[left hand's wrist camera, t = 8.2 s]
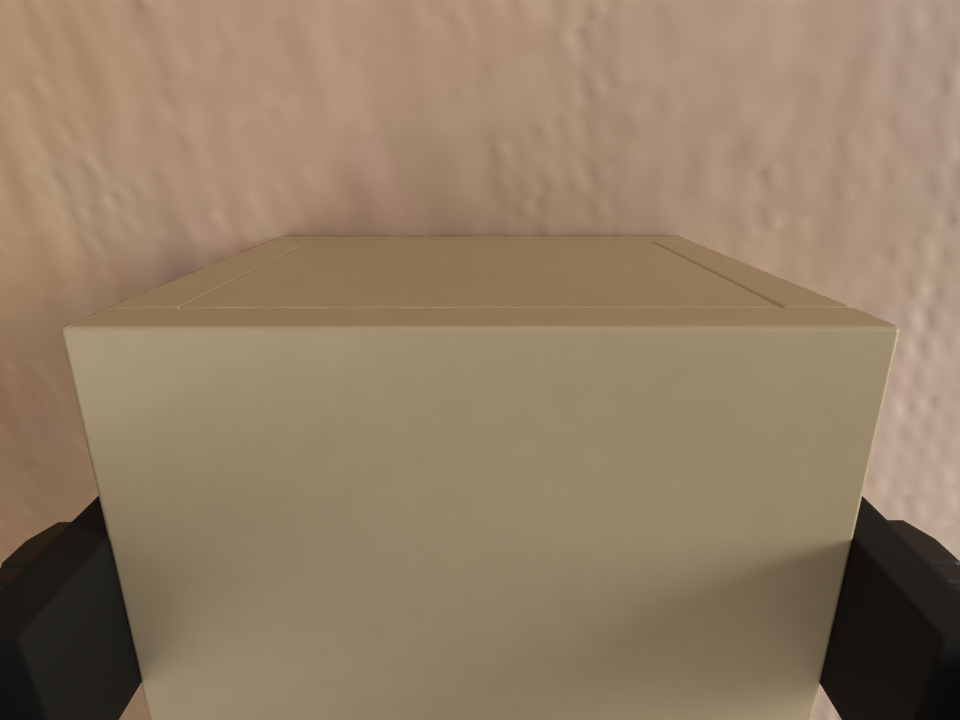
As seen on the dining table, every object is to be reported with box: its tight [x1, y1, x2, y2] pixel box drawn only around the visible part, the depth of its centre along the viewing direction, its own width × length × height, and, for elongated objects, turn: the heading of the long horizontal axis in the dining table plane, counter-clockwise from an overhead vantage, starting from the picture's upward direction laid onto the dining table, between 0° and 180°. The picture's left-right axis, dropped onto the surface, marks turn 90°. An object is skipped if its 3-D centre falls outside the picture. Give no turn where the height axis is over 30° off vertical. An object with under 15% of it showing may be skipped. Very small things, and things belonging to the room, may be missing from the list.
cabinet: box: [62, 236, 899, 720], centre depth 15 cm, size 16×11×9 cm, turn 0°
